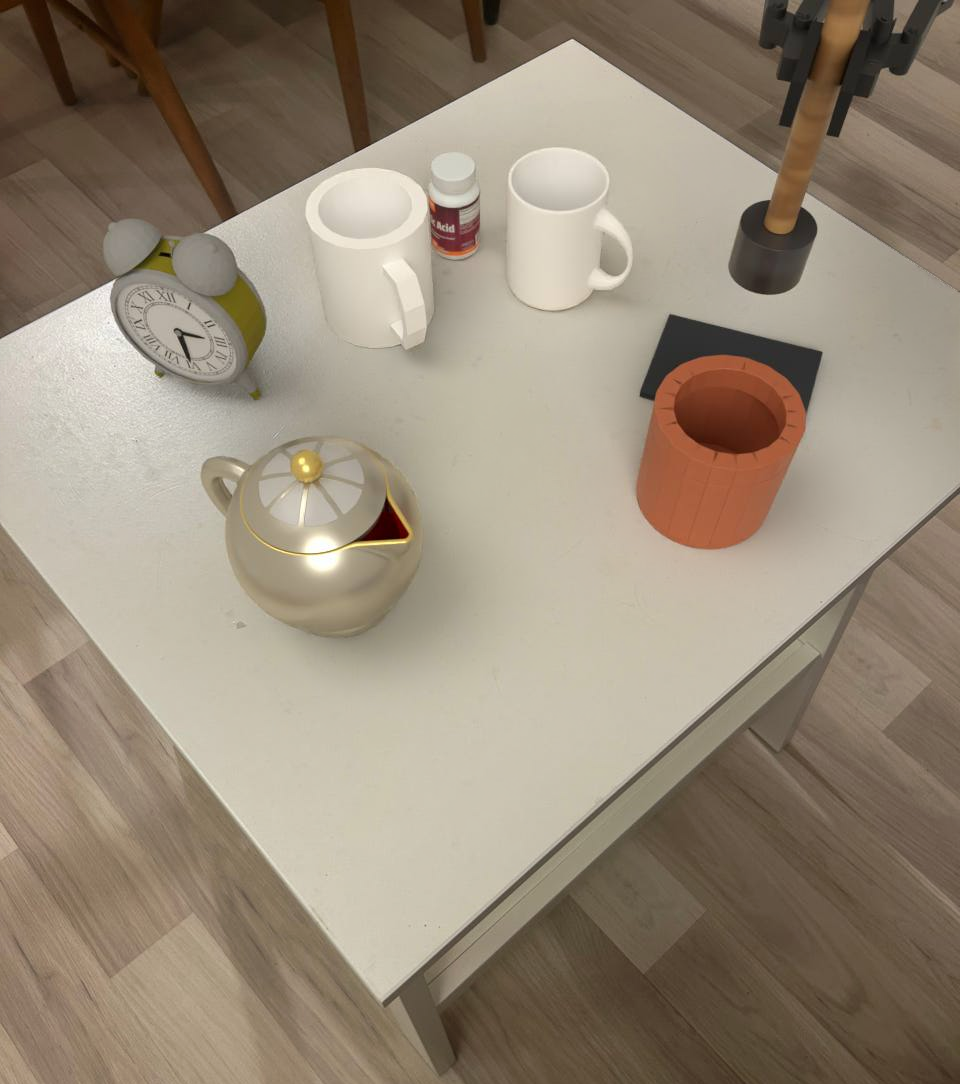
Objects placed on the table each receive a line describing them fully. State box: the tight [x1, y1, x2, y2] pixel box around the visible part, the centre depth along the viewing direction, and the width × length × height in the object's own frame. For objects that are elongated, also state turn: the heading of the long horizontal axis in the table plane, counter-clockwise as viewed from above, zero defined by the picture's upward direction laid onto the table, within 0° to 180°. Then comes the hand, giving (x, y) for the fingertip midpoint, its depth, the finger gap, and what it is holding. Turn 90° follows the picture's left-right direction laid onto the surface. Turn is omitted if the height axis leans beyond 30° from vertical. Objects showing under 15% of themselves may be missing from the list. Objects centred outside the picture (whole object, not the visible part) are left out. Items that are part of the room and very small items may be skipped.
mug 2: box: [505, 146, 634, 312], centre depth 83 cm, size 9×12×11 cm
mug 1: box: [305, 167, 435, 351], centre depth 81 cm, size 14×10×11 cm
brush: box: [727, 0, 870, 296], centre depth 61 cm, size 6×6×24 cm
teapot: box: [200, 435, 424, 639], centre depth 65 cm, size 18×14×16 cm
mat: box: [639, 313, 824, 415], centre depth 82 cm, size 14×10×1 cm
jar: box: [635, 355, 807, 550], centre depth 72 cm, size 11×11×10 cm
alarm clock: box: [102, 218, 268, 400], centre depth 76 cm, size 12×7×15 cm, turn 73°
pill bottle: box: [427, 151, 481, 261], centre depth 87 cm, size 5×5×8 cm
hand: (815, 109), depth 55 cm, fingers closed on brush, 2 cm apart
